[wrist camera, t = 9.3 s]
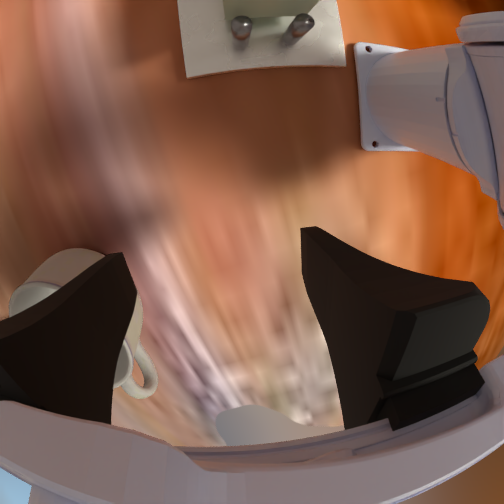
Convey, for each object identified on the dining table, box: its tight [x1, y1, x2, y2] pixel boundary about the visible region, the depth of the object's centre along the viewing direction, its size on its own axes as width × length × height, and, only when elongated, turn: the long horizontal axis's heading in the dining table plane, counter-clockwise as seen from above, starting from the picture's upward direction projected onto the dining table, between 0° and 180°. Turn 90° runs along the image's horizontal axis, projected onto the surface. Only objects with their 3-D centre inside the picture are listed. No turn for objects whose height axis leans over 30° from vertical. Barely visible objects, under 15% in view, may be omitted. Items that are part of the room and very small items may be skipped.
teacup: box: [9, 248, 158, 399], centre depth 20 cm, size 14×11×8 cm
